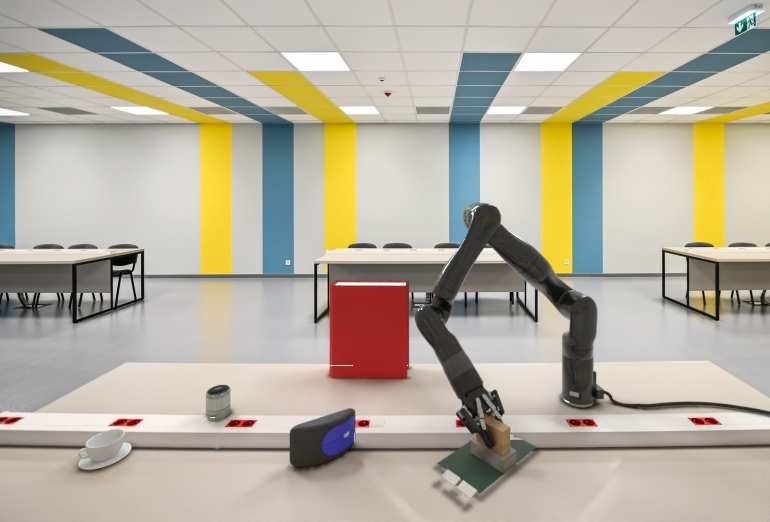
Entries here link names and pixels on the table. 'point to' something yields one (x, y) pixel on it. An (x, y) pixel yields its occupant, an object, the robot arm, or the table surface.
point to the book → (369, 328)
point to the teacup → (104, 449)
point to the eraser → (499, 454)
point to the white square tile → (451, 477)
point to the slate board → (480, 465)
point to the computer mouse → (322, 438)
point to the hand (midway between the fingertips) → (499, 442)
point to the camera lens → (218, 402)
